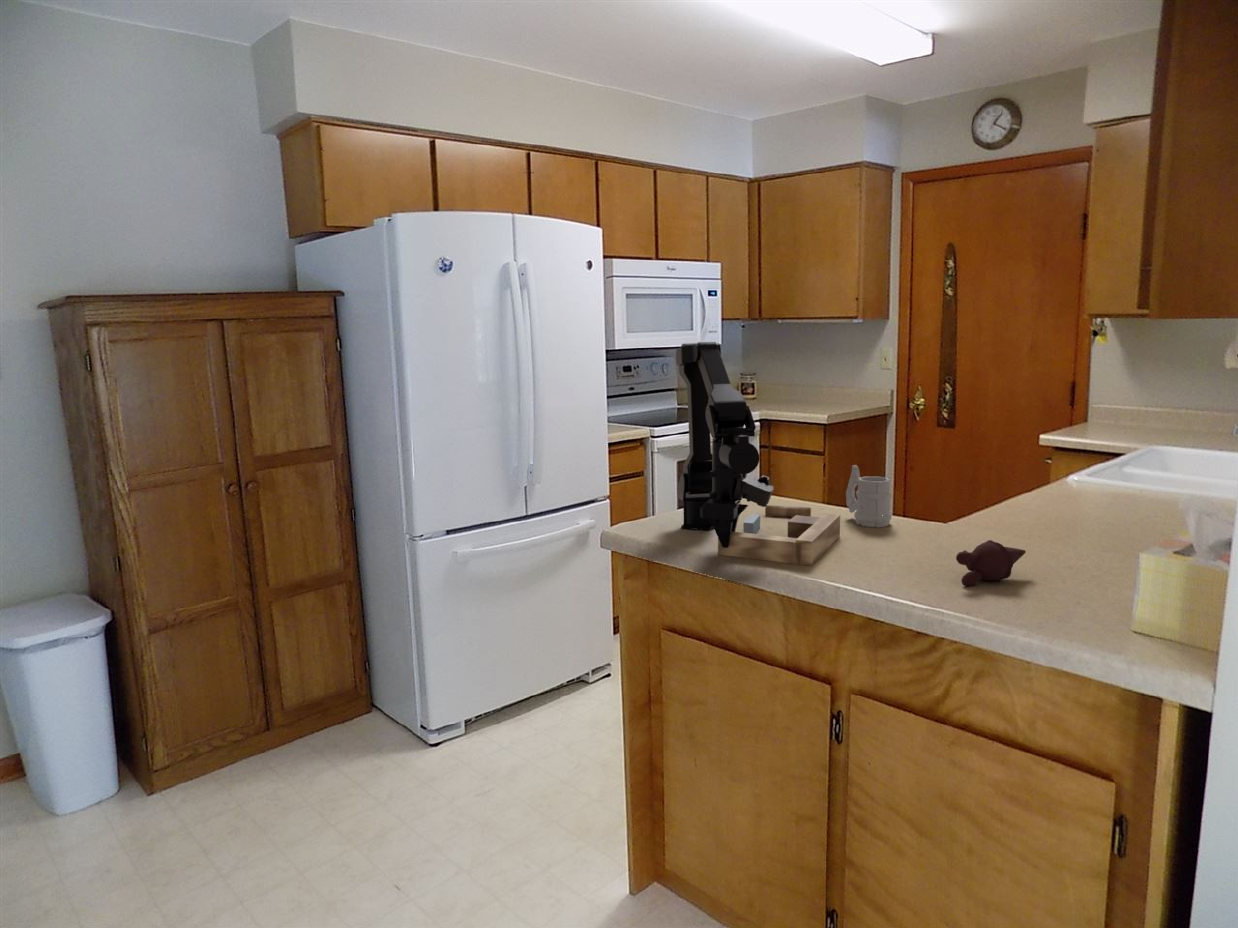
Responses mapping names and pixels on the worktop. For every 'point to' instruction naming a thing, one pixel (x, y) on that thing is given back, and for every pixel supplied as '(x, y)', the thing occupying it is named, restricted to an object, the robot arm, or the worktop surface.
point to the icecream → (988, 562)
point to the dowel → (787, 511)
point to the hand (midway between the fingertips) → (727, 545)
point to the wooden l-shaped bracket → (786, 543)
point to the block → (800, 525)
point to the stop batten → (752, 524)
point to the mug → (869, 499)
